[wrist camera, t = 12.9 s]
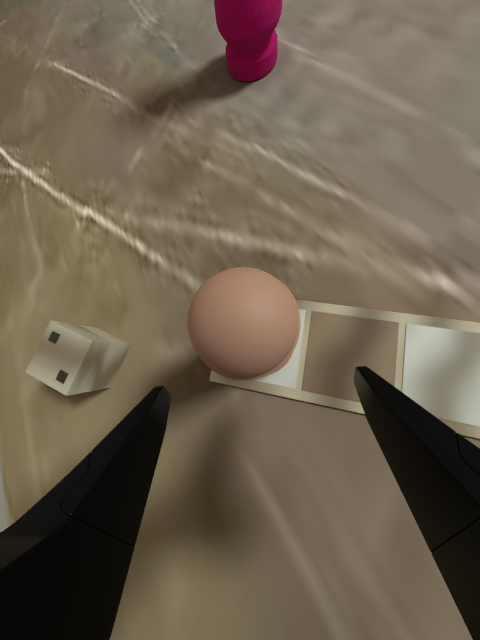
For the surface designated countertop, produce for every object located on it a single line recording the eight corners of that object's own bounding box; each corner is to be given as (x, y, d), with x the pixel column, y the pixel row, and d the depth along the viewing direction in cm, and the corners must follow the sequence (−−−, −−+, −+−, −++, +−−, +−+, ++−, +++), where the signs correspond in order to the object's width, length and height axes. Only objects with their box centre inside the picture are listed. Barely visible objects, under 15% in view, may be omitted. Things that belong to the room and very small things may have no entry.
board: (514, 328, 17) (519, 327, 17) (515, 445, 16) (520, 447, 16) (227, 291, 22) (226, 290, 22) (210, 380, 21) (209, 381, 20)
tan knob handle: (289, 379, 19) (324, 435, 6) (226, 368, 20) (124, 392, 7) (296, 315, 20) (343, 226, 6) (236, 308, 21) (164, 219, 8)
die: (111, 387, 23) (65, 396, 18) (76, 369, 24) (24, 372, 19) (131, 343, 23) (91, 340, 18) (96, 327, 24) (50, 320, 19)
